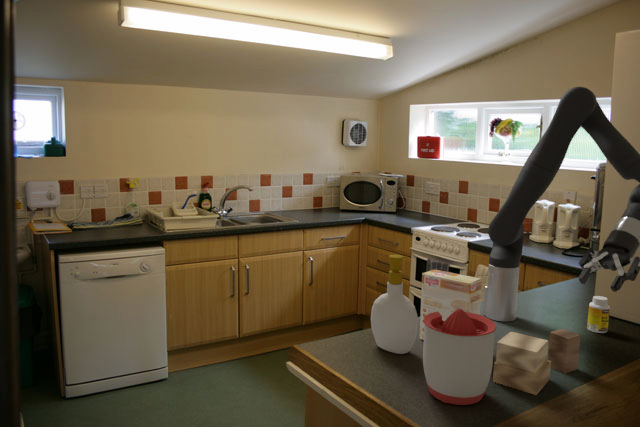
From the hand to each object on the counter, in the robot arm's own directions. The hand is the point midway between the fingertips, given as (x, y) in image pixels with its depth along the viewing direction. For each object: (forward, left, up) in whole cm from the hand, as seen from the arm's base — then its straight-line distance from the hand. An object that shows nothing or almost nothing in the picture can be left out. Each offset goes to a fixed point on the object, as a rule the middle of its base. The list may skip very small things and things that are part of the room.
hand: (596, 285), depth 138 cm
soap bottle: (-37, -35, -20) cm, 55 cm away
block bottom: (-5, -26, -20) cm, 33 cm away
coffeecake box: (-30, -20, -20) cm, 41 cm away
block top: (-5, -26, -15) cm, 31 cm away
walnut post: (-2, -11, -20) cm, 23 cm away
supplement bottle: (-7, +23, -20) cm, 31 cm away
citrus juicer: (-12, -43, -20) cm, 49 cm away
